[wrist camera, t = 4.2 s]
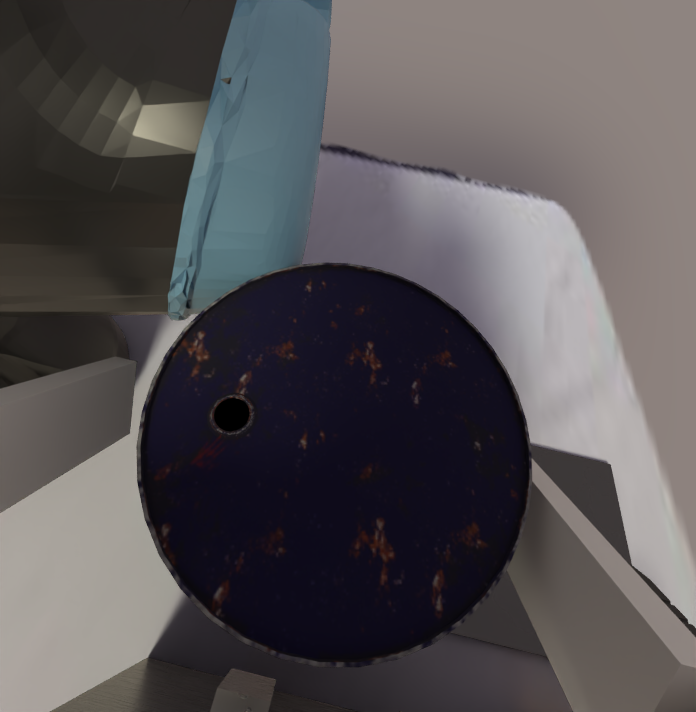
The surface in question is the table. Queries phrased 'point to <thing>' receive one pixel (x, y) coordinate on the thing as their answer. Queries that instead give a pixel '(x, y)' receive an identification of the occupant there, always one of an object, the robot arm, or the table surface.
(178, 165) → the robot arm
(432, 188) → the table surface
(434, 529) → the dark blue barrel
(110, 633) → the table surface
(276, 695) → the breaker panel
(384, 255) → the table surface
